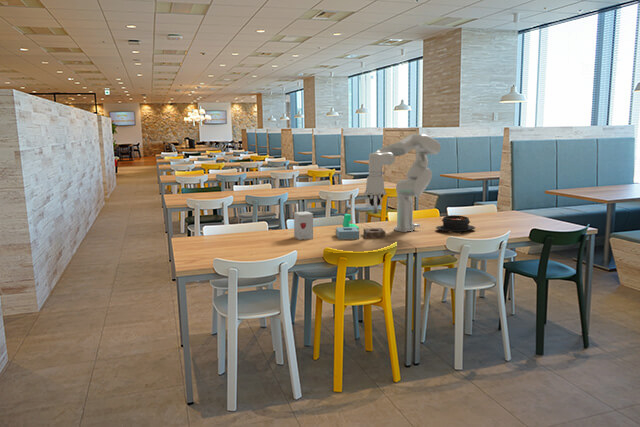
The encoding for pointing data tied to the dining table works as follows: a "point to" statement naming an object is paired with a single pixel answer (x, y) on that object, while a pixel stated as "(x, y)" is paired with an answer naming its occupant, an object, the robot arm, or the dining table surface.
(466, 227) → the casserole
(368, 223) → the dining table surface
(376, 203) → the steel pin
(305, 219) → the supplement box
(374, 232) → the walnut mount block
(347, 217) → the camera mount
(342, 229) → the socket block
